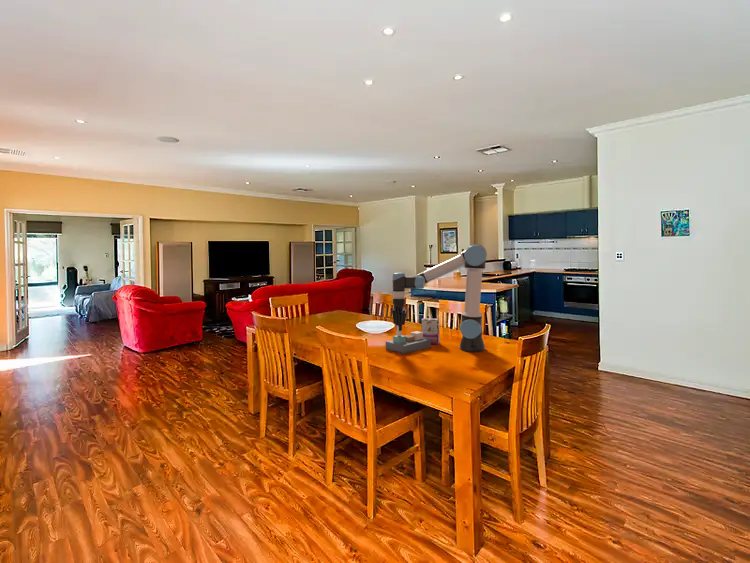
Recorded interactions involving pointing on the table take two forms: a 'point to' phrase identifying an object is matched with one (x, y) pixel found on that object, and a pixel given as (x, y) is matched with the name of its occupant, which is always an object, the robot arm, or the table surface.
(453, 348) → the table surface
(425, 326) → the candy bar box
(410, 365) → the table surface
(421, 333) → the ivory key
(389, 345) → the dark grey tray
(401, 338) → the teal key
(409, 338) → the walnut key
